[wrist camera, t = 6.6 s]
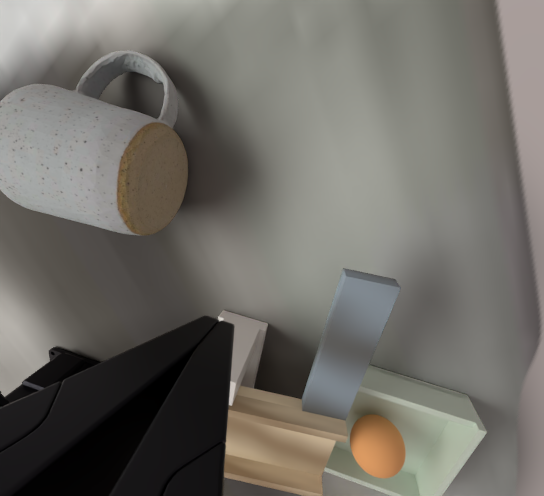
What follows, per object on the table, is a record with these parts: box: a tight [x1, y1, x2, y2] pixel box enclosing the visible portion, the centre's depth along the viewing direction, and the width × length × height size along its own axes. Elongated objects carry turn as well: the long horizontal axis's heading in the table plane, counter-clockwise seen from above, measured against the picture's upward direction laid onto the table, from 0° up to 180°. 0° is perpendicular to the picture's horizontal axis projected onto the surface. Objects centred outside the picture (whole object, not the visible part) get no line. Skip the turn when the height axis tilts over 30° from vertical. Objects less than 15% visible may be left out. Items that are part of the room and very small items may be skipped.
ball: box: [350, 414, 406, 478], centre depth 21 cm, size 4×4×4 cm
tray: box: [324, 365, 487, 496], centre depth 22 cm, size 10×9×3 cm
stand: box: [218, 310, 268, 406], centre depth 22 cm, size 12×4×6 cm, turn 169°
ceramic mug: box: [0, 50, 188, 235], centre depth 16 cm, size 11×8×8 cm
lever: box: [158, 268, 401, 496], centre depth 19 cm, size 18×15×5 cm
